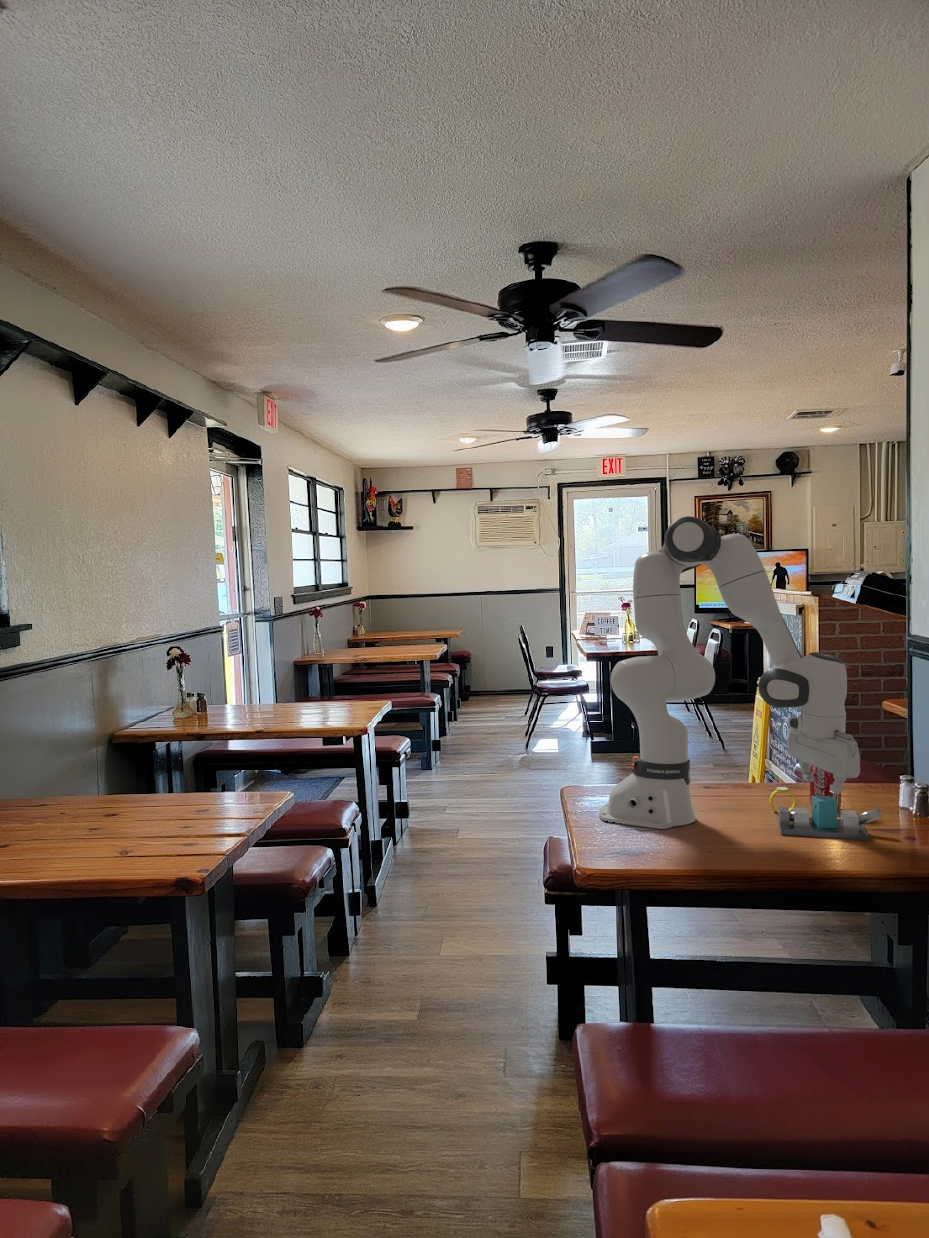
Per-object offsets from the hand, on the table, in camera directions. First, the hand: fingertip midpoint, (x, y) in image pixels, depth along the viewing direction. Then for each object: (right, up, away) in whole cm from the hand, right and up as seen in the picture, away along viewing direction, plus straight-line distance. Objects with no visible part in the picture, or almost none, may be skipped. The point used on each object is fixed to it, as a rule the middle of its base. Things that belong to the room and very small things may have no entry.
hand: (821, 786), depth 179 cm
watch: (-3, -10, +15) cm, 18 cm away
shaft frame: (+1, -10, 0) cm, 10 cm away
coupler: (+1, -9, 0) cm, 9 cm away
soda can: (+8, -9, +17) cm, 21 cm away
